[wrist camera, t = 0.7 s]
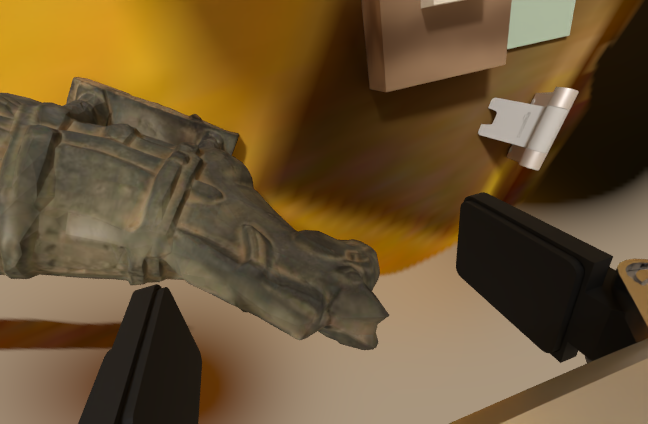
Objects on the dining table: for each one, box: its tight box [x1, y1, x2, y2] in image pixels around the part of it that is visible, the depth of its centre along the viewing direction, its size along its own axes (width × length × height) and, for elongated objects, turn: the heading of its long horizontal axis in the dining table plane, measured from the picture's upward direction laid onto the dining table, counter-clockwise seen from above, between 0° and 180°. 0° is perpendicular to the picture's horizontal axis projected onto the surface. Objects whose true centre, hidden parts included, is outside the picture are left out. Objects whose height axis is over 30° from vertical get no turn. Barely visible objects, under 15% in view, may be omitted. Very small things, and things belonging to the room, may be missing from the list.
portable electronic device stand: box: [478, 87, 579, 170], centre depth 38 cm, size 9×8×8 cm
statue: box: [0, 77, 389, 350], centre depth 21 cm, size 25×10×25 cm, turn 63°
